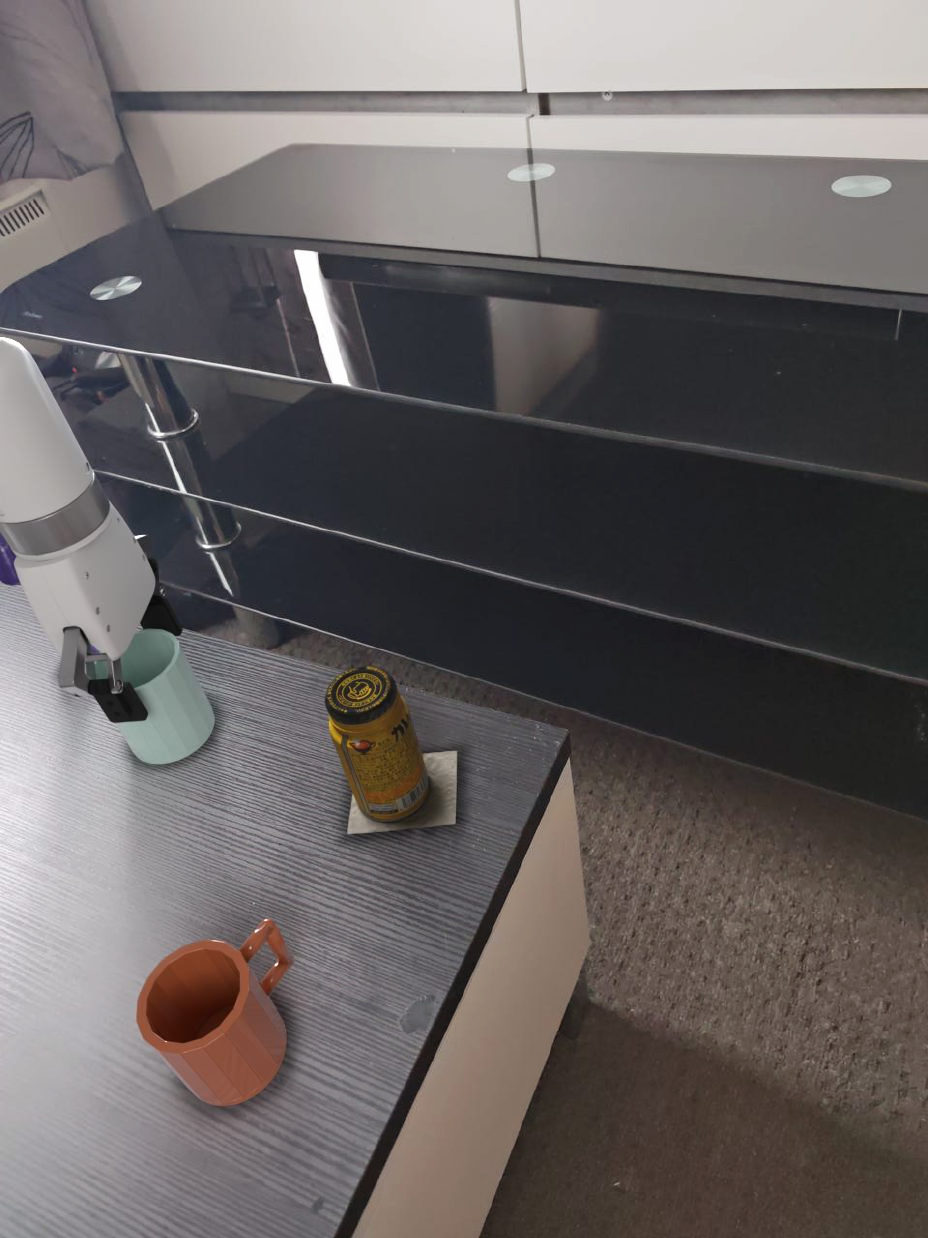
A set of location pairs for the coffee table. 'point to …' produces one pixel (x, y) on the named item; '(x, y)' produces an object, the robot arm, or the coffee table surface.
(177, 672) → the cup
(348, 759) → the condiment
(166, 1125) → the coffee table surface
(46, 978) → the coffee table surface
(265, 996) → the mug
